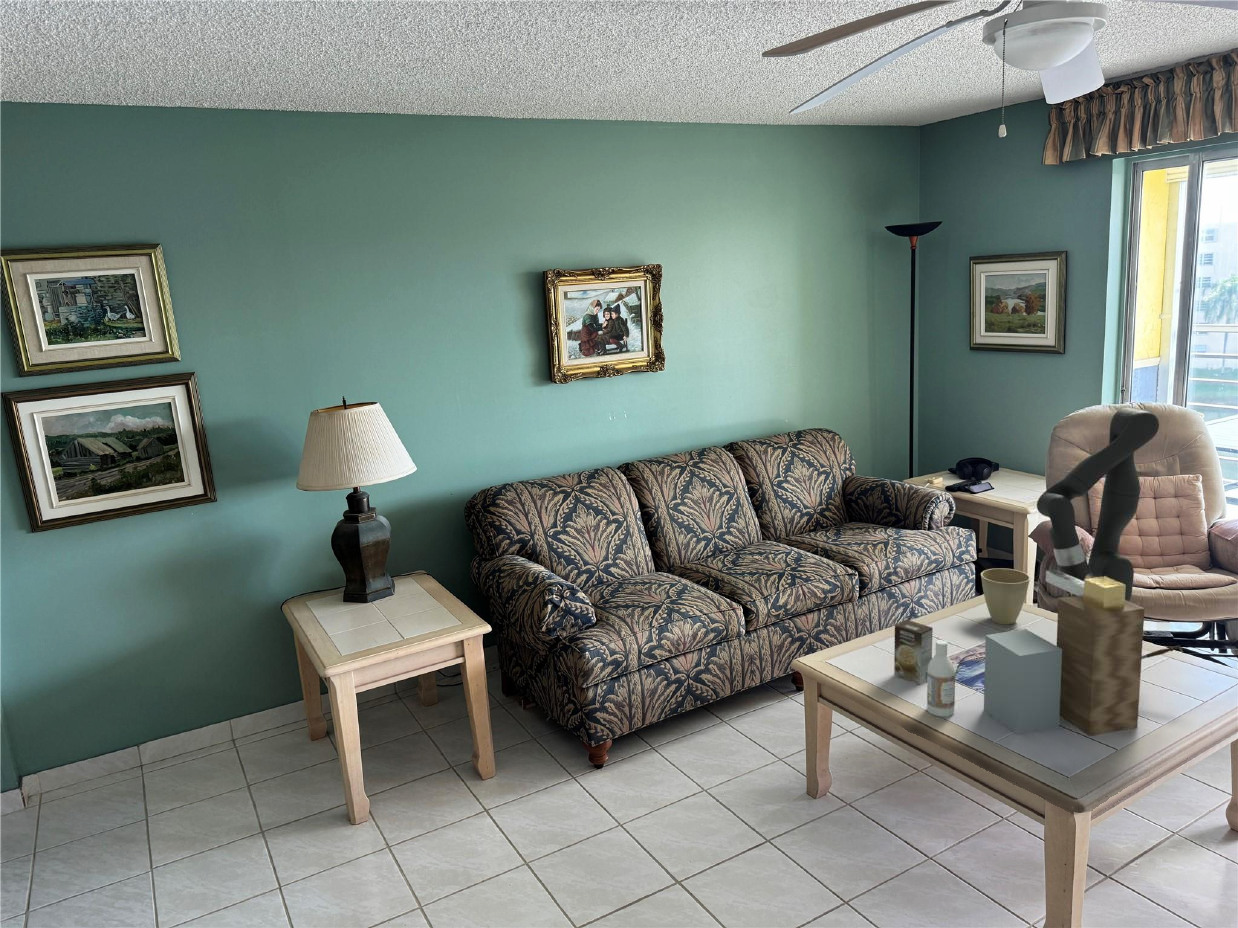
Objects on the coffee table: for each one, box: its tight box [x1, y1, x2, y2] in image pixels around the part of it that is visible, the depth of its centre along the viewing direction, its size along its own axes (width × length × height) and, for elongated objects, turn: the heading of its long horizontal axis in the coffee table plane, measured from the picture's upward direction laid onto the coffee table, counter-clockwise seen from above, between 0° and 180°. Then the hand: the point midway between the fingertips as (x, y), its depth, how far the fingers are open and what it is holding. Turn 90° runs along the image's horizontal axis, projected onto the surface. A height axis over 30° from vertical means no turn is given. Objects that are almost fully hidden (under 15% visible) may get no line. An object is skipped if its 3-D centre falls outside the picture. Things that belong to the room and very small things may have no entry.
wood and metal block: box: [1045, 569, 1126, 611], centre depth 228 cm, size 6×23×6 cm, turn 12°
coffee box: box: [893, 618, 934, 686], centre depth 256 cm, size 9×6×16 cm
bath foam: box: [926, 639, 956, 718], centre depth 235 cm, size 7×7×20 cm
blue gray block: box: [983, 628, 1062, 736], centre depth 229 cm, size 12×14×22 cm
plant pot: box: [980, 567, 1031, 625], centre depth 293 cm, size 15×15×16 cm
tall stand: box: [1056, 596, 1145, 737], centre depth 225 cm, size 14×13×32 cm
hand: (1087, 612), depth 252 cm, fingers open, 8 cm apart
